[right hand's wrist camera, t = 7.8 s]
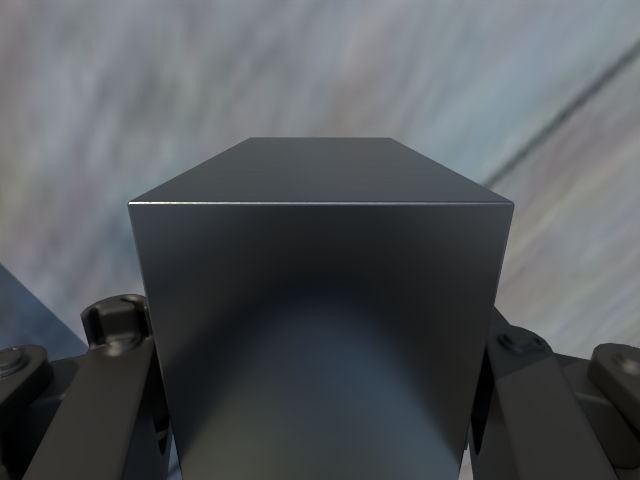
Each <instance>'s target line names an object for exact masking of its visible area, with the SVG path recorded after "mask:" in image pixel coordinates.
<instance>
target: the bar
mask: <svg viewBox="0 0 640 480" xmlns="http://www.w3.org/2000/svg"><path fill="white" fill-rule="evenodd" d="M128 210H129V215H130V220H131V225H132V230H133V235H134V240H135V245H136V250H137V255H138V260H139V265H140V270H141V275H142V280H143V285H144V290H145V295H146V300H147V305H148V310H149V315H150V320H151V325H152V330H153V335H154V340H155V345H156V350H157V355H158V360H159V365H160V370H161V375H162V380H163V385H164V390H165V395H166V400H167V405H168V410H169V415H170V420H171V425H172V430H173V435H174V440H175V445H176V450H177V455H178V460H179V465H180V470H181V475H182V480H458V478H459V473H460V468H461V463H462V458H463V454H464V449H465V444H466V439H467V434H468V429H469V424H470V419H471V415H472V410H473V405H474V400H475V395H476V390H477V385H478V381H479V376H480V371H481V366H482V361H483V356H484V351H485V346H486V342H487V337H488V332H489V327H490V322H491V317H492V312H493V308H494V303H495V298H496V293H497V288H498V283H499V278H500V273H501V269H502V264H503V259H504V254H505V249H506V244H507V239H508V235H509V230H510V225H511V220H512V215H513V210H514V203H513V202H512V201H510V200H508V199H506V198H504V197H502V196H500V195H498V194H496V193H495V192H493V191H491V190H489V189H487V188H485V187H483V186H481V185H479V184H477V183H475V182H474V181H472V180H470V179H468V178H466V177H464V176H462V175H460V174H458V173H456V172H454V171H452V170H451V169H449V168H447V167H445V166H443V165H441V164H439V163H437V162H435V161H433V160H431V159H430V158H428V157H426V156H424V155H422V154H420V153H418V152H416V151H414V150H412V149H410V148H409V147H407V146H405V145H403V144H401V143H399V142H397V141H395V140H393V139H391V138H249V139H247V140H245V141H243V142H241V143H239V144H237V145H235V146H233V147H232V148H230V149H228V150H226V151H224V152H222V153H220V154H218V155H216V156H215V157H213V158H211V159H209V160H207V161H205V162H203V163H201V164H199V165H198V166H196V167H194V168H192V169H190V170H188V171H186V172H184V173H182V174H180V175H179V176H177V177H175V178H173V179H171V180H169V181H167V182H165V183H163V184H162V185H160V186H158V187H156V188H154V189H152V190H150V191H148V192H146V193H145V194H143V195H141V196H139V197H137V198H135V199H133V200H131V201H129V202H128Z"/></svg>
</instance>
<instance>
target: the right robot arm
mask: <svg viewBox="0 0 640 480" xmlns="http://www.w3.org/2000/svg"><path fill="white" fill-rule="evenodd" d="M80 316H81V319H82V323H83V326H84V330H85V333H86V337H87V340H88V344H89V347H90V348H89V350H88V352H87V353H86V355H82V356H77V357H72V358H67V359H62V360H57V361H52V362H50V359H49V356H48V353H47V350H46V349H44V348H43V347H42V346H38V345H24V346H15V347H11V348H10V349H8V348H7V349H4V350H1V351H0V480H167V473H168V465H169V457H170V450H171V442H172V434H173V430H172V425H171V420H170V415H169V410H168V405H167V400H166V395H165V390H164V385H163V380H162V375H161V370H160V365H159V360H158V355H157V350H156V345H155V340H154V335H153V330H152V325H151V320H150V315H149V310H148V305H147V300H146V297H144V296H141V295H136V294H125V295H118V296H113V297H109V298H106V299H104V300H101V301H98V302H96V303H94V304H93V305H91V306H89V307H87V308H86V309H85V310H84V311H83V312H82V313H81V314H80ZM468 442H469V449H470V456H471V464H472V472H473V480H640V349H639V348H636V347H631V346H629V345H624V344H614V343H606V344H600V345H598V346H597V347H596V348H594V351H593V354H592V357H591V360H587V359H582V358H577V357H572V356H566V355H561V354H557V353H553V351H552V349H551V347H550V346H549V345H548V343H547V342H546V341H545V340H544V339H543V338H541V337H540V336H538V335H537V334H535V333H534V332H531V331H529V330H526V329H524V328H521V327H517V326H513V325H510V324H509V323H508V322H507V320H506V319H505V318H504V317H503V316H502V314H501V313H500V312H499V311H498V310H497V309H496V307H495V306H494V308H493V312H492V317H491V322H490V327H489V332H488V337H487V342H486V346H485V351H484V356H483V361H482V366H481V371H480V376H479V381H478V385H477V390H476V395H475V400H474V405H473V410H472V415H471V419H470V424H469V429H468V434H467V439H466V444H465V449H464V450H467V446H468Z"/></svg>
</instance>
